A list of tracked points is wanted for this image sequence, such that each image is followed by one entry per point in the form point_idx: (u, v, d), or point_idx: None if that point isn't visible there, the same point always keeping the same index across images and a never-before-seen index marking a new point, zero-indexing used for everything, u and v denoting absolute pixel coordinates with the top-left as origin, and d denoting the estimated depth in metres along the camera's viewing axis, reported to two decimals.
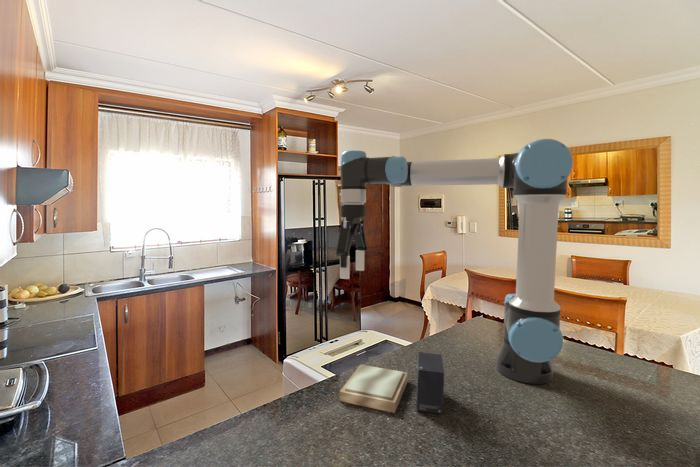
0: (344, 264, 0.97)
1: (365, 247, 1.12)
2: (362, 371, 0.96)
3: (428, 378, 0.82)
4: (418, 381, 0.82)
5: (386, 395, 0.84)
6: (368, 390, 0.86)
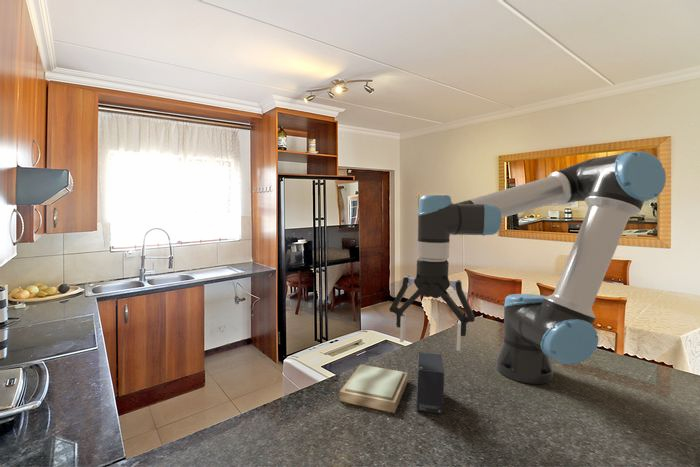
0: None
1: (465, 320, 0.81)
2: (362, 371, 0.96)
3: (428, 378, 0.82)
4: (418, 381, 0.82)
5: (386, 395, 0.84)
6: (368, 390, 0.86)
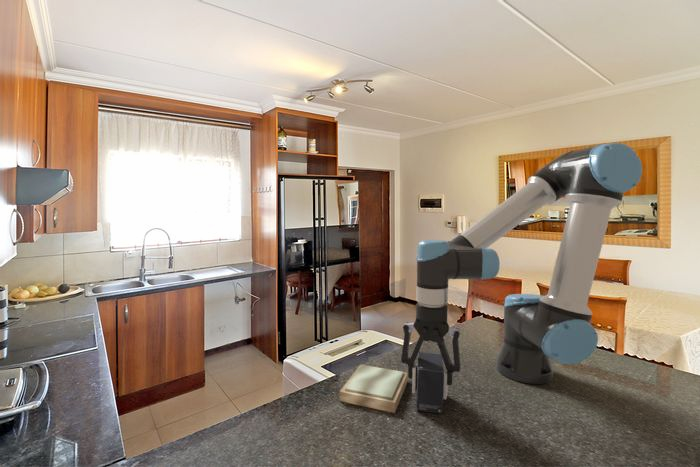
0: None
1: (451, 371, 0.83)
2: (362, 371, 0.96)
3: (428, 378, 0.82)
4: (418, 381, 0.82)
5: (386, 395, 0.84)
6: (368, 390, 0.86)
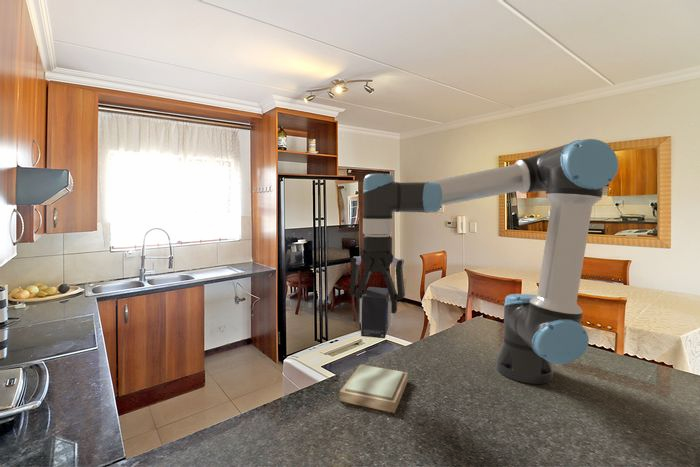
0: None
1: (395, 299, 0.87)
2: (362, 371, 0.96)
3: (371, 304, 0.85)
4: (362, 307, 0.86)
5: (386, 395, 0.84)
6: (368, 390, 0.86)
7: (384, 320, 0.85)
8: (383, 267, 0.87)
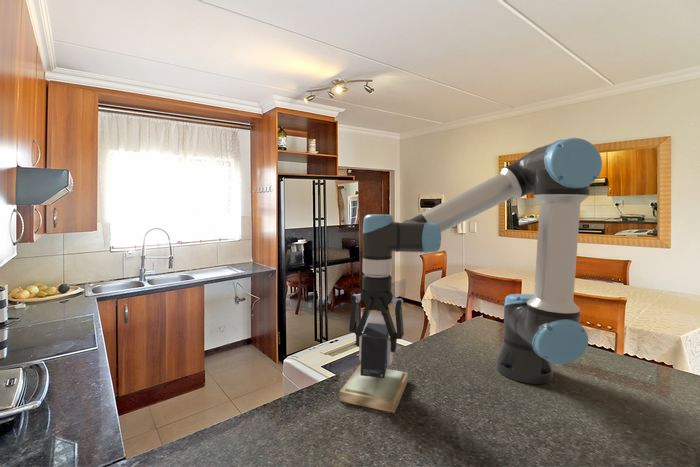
0: None
1: None
2: None
3: (371, 344, 0.86)
4: (362, 347, 0.87)
5: (386, 395, 0.84)
6: (368, 390, 0.86)
7: (383, 360, 0.86)
8: (382, 307, 0.88)
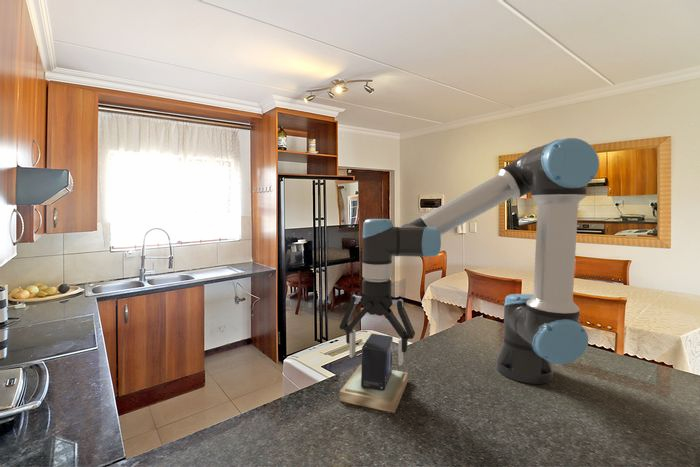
0: None
1: (405, 337, 0.87)
2: None
3: (371, 356, 0.86)
4: (362, 358, 0.87)
5: (386, 395, 0.84)
6: (368, 390, 0.86)
7: (383, 373, 0.86)
8: (384, 310, 0.88)
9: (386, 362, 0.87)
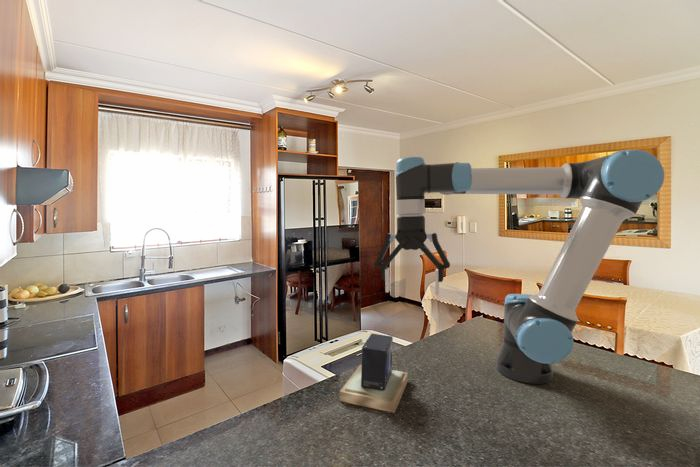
0: (382, 276, 0.98)
1: (442, 267, 0.92)
2: None
3: (371, 356, 0.86)
4: (362, 358, 0.87)
5: (386, 395, 0.84)
6: (368, 390, 0.86)
7: (383, 373, 0.86)
8: (420, 243, 0.93)
9: (386, 362, 0.87)
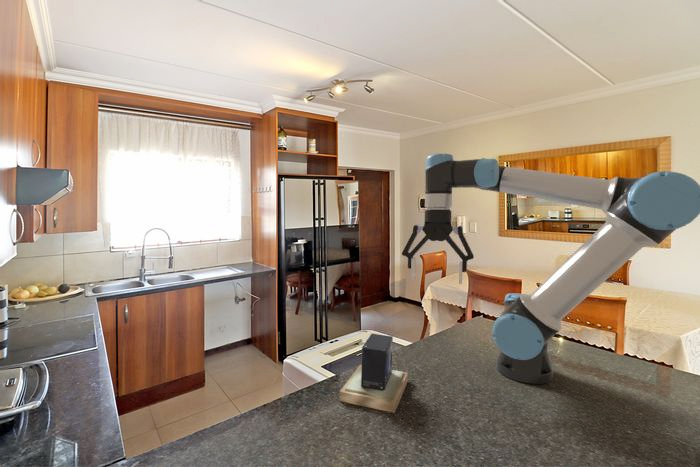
0: (408, 265, 1.04)
1: (466, 258, 0.98)
2: None
3: (371, 356, 0.86)
4: (362, 358, 0.87)
5: (386, 395, 0.84)
6: (368, 390, 0.86)
7: (383, 373, 0.86)
8: (446, 235, 0.99)
9: (386, 362, 0.87)
